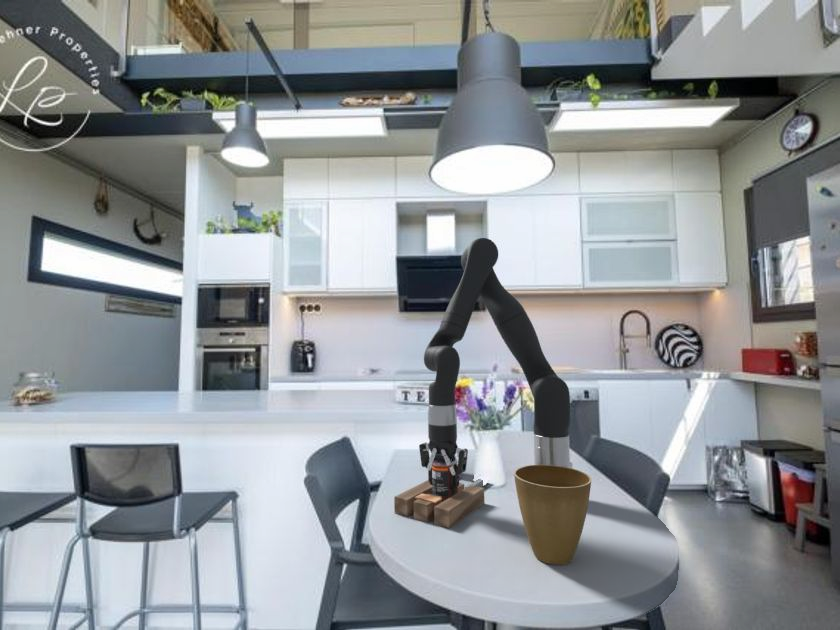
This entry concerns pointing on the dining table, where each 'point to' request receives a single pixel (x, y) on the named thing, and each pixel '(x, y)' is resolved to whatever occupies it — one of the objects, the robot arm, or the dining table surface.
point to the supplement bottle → (441, 478)
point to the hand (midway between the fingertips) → (443, 486)
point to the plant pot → (553, 509)
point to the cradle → (471, 479)
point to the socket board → (439, 504)
